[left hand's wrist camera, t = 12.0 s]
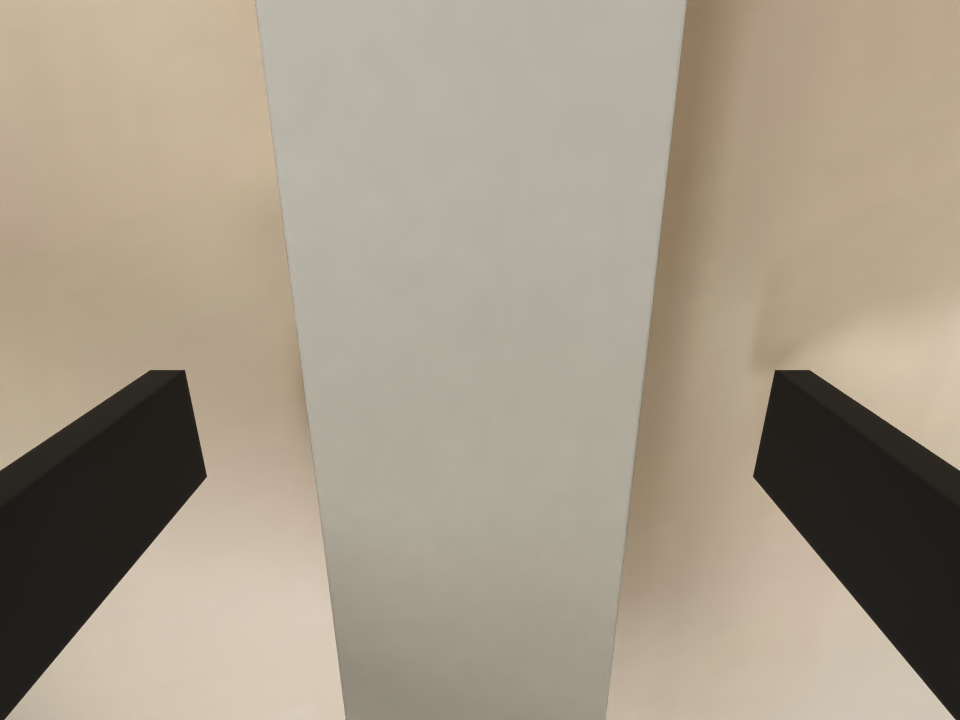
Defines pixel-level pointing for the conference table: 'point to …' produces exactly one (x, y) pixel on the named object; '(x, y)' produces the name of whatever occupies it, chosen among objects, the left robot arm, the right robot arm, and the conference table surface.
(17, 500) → the left robot arm
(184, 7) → the conference table surface
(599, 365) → the bar
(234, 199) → the conference table surface
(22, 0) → the conference table surface
